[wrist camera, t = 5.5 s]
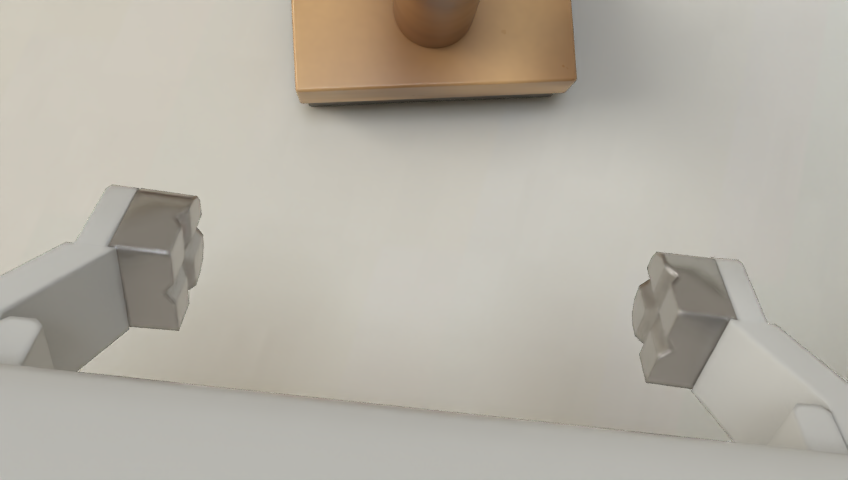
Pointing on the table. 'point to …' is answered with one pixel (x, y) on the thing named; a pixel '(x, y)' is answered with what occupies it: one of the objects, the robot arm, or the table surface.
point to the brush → (431, 50)
